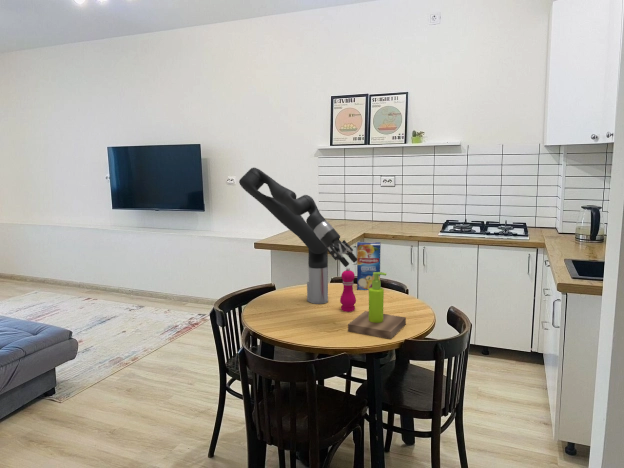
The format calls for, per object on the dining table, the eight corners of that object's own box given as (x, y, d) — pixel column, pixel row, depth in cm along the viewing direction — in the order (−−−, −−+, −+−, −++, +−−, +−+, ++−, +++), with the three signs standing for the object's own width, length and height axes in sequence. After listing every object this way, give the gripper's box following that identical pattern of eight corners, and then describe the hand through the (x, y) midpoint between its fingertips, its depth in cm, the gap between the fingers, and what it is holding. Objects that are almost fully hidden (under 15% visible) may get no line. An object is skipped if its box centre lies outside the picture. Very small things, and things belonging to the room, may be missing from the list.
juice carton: (356, 289, 244) (357, 244, 240) (357, 285, 251) (357, 242, 247) (380, 290, 243) (380, 245, 239) (379, 286, 250) (380, 242, 246)
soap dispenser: (385, 323, 186) (386, 274, 183) (368, 322, 188) (368, 274, 185) (386, 318, 192) (386, 271, 189) (369, 317, 194) (369, 270, 190)
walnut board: (347, 331, 187) (347, 324, 186) (365, 317, 202) (365, 310, 202) (390, 339, 178) (391, 331, 178) (405, 324, 194) (405, 317, 193)
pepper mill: (358, 308, 214) (358, 266, 211) (352, 313, 208) (352, 269, 205) (343, 306, 217) (343, 264, 214) (337, 311, 211) (337, 268, 208)
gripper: (328, 237, 203) (352, 265, 199) (313, 242, 191) (338, 272, 187) (339, 225, 200) (364, 254, 196) (324, 230, 187) (350, 261, 184)
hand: (351, 263), depth 192 cm, fingers open, 8 cm apart
